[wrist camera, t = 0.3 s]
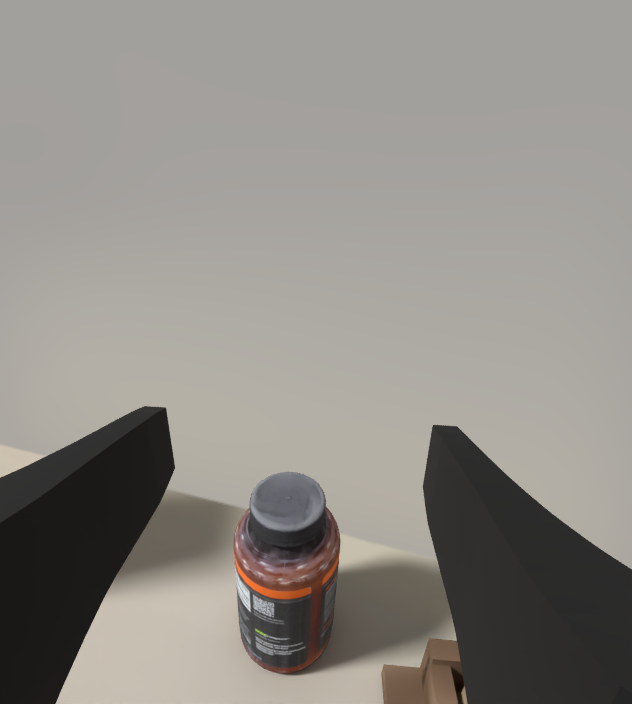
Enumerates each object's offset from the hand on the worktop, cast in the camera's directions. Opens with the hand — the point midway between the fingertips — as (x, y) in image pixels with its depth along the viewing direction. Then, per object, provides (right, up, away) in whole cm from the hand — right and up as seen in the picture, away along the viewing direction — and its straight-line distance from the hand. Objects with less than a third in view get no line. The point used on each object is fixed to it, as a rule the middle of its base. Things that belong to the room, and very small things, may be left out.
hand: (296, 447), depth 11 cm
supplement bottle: (-1, -15, +15) cm, 22 cm away
